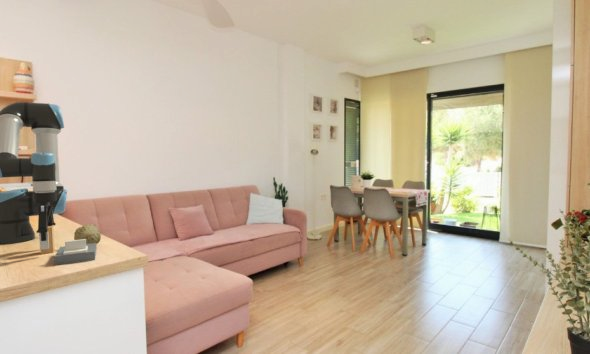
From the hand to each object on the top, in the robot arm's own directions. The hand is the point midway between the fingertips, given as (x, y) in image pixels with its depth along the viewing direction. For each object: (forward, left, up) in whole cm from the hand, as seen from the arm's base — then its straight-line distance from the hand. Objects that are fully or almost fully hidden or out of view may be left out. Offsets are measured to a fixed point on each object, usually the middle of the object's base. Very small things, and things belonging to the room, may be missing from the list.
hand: (47, 245), depth 134 cm
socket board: (+14, +11, -3) cm, 18 cm away
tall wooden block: (0, 0, -3) cm, 3 cm away
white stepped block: (+18, +11, 0) cm, 21 cm away
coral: (-3, +13, -3) cm, 14 cm away
